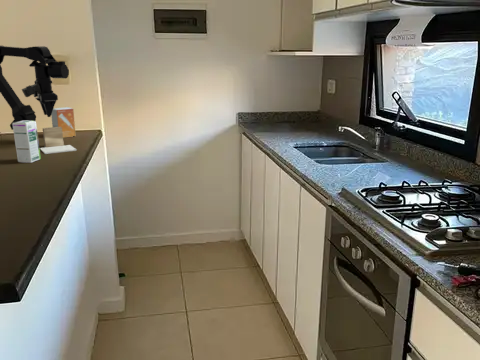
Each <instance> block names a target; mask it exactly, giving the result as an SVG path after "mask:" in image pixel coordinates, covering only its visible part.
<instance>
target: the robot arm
mask: <svg viewBox="0 0 480 360" xmlns="http://www.w3.org/2000/svg"><path fill="white" fill-rule="evenodd" d="M5 57H17V58H26V59H27V60H31V61H32V62H31V63H30V64H29V65H28V66H29V67H31V68H34V76H35V80H34V84H32V85H31V84H30V85H28V86H25V87H24V88H22V89H21V91H22V93H23V95H24V97H25V98H29V97H31V96H33V98H35V100H37V101H38V102H39V103H40V106H41V109H42V112H43V115H44V116H47V117H48V118H52V116H51V114H52V111H53V109H54V108H55V106H56V103H57V101H58V100H59V97H58V95H57V94H56V93H55V92H54V90H53V89H52V87H53V86H52V84H53V80H51V79H67V78H68V77H69V75H70V70H69V68H68V65H67V64H66V61H64V60H62V61H57V60H56V58H55V57H54V56H53V55H52V53H51V50H50V49H49V48H48V46H44V45H43V46H40V45H38V46H36V45H35V46H28V47H19V46H6V45H5V46H4V45H0V94H1V96H2V97H3V98H4V100H5V102H6V103H7V104H8V105H9V107H10V109H11V115H12V118H13V120H12V122H11V123H10V124H9V126H10V129H11V130H12V131H13V125H12V123H16V122H20V121H25V120H32V121H36V120H37V119H36V118H37V115H36V112H35V111H34V110H33V108H32V106H31V105H30V104H24V103H23V102H22V101H21V99H20V98H19V96H18V95H17V93H16V92H15V91H14V89H13V88H12V86H11V85H10V83H9V82H8V80H7V79H6V78H5V76H4V74H3V68H2V66H1V64H2V63H3V61H4V59H5Z"/></svg>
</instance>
